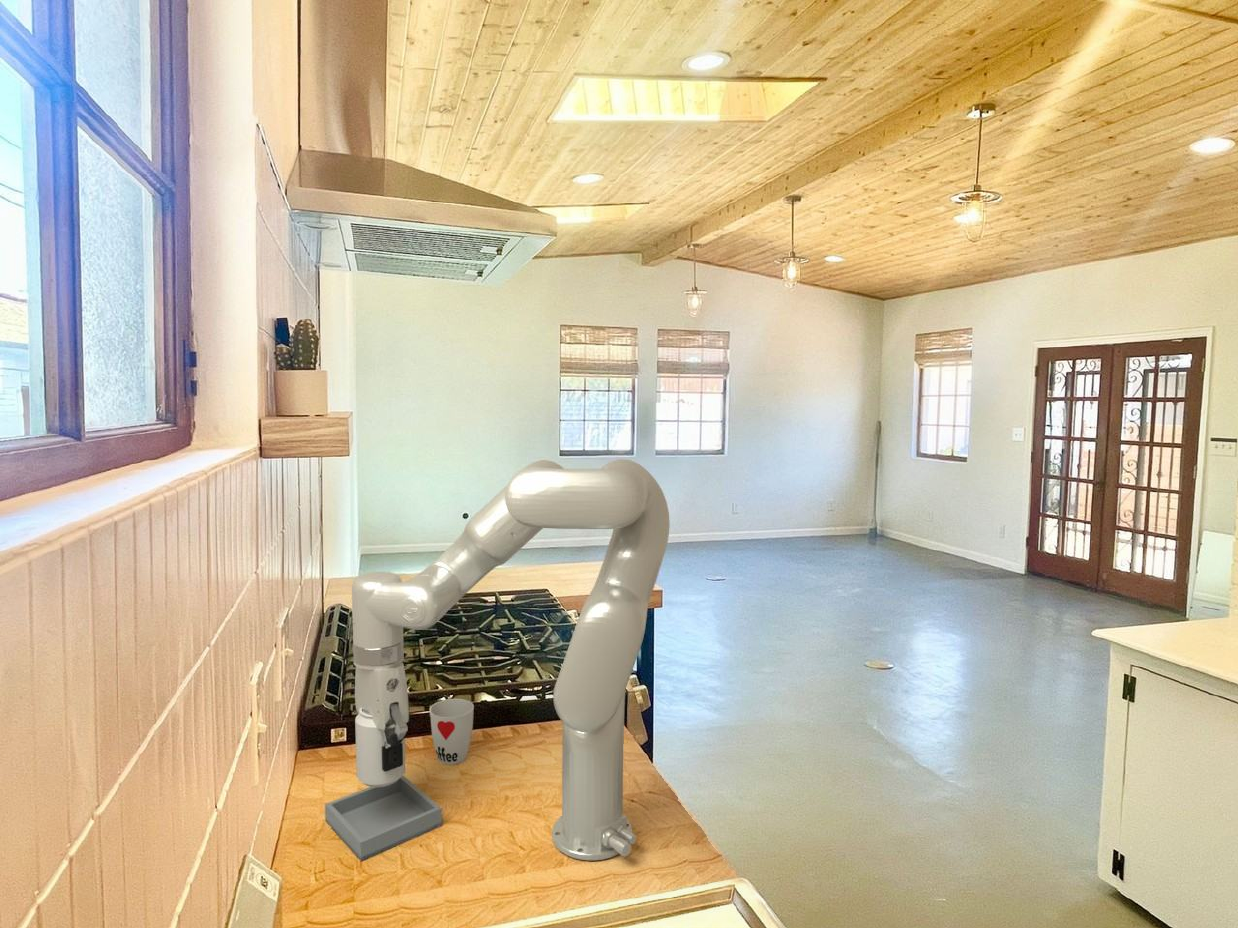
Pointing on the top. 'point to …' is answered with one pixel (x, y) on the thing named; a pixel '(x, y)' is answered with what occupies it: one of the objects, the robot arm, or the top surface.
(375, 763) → the can
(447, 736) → the cup
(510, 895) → the top surface
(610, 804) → the robot arm
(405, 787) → the bin
